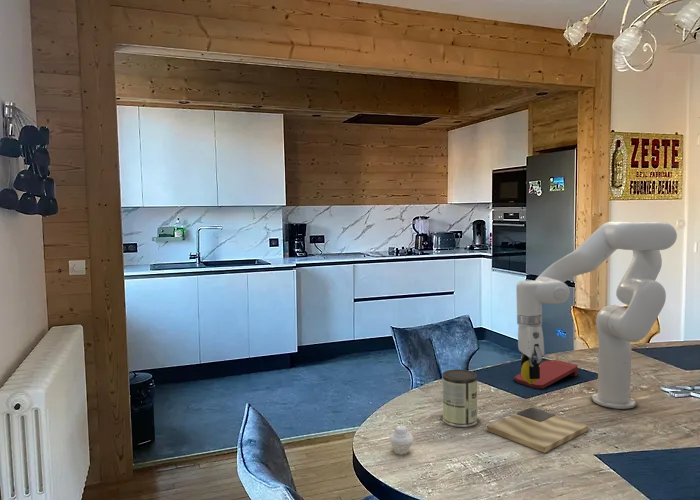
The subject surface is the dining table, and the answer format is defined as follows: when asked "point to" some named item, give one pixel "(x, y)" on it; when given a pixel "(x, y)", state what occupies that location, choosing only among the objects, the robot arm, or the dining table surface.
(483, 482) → the dining table surface
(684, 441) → the dining table surface
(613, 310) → the robot arm
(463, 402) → the coffee can
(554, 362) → the red sloped ramp
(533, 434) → the board
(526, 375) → the lemon
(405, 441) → the white rounded piece
